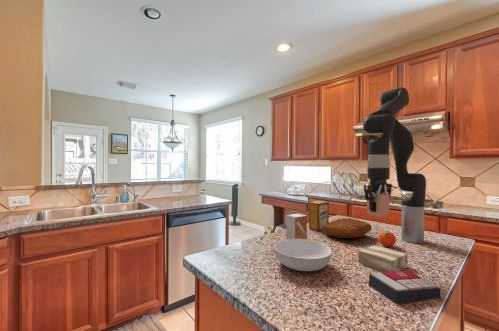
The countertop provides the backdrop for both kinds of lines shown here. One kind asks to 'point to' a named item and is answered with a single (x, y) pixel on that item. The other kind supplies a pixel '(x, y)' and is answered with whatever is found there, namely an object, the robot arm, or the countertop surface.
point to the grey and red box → (403, 287)
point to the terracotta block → (380, 206)
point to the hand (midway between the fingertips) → (377, 210)
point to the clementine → (387, 238)
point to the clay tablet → (347, 228)
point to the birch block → (383, 258)
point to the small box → (296, 226)
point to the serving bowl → (302, 254)
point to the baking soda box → (318, 215)
